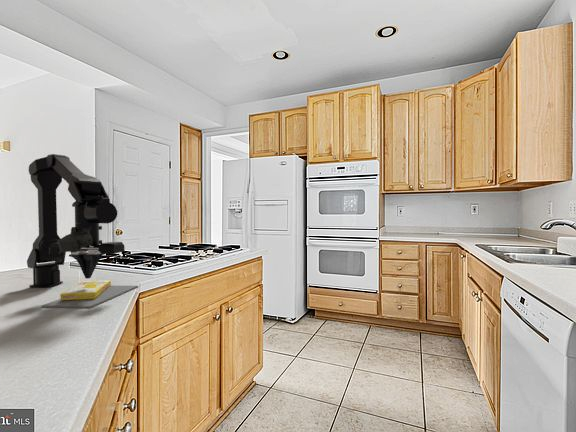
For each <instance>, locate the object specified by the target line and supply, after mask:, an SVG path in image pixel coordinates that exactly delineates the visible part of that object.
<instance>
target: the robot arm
mask: <svg viewBox="0 0 576 432" xmlns="http://www.w3.org/2000/svg"><path fill="white" fill-rule="evenodd" d="M70 159H71V158H70V157H69V156H67V155H64V154H63V155H62V154H56V153H51V154H49V153H48V155H46V156H45V157H41V158H36V159H34V160H33V161H32V162H31V163H30V164H29V165H28V174H29V175H30V181H31V183H32V184H33V185H34V186H35V188H36V190H37V203H38V204H37V208H38V210H37V213H38V217H37V218H38V236H37V237H36V238H35V240H34V241H33V242H32V249H31V251H30V253H29V254H28V257H27V260H26V265H27V268H29V269H32V274H33V275H32V277H33V280H32V281H33V284H30V285H29V287H30V288H49V287H52V286H56V285H59V284H60V285H61V284H63V283H64V282H63V280H61V270H60V267H59V266H64V264H65V261H66V253H67V252H69V253H70V254H68V257H69V258H73V259H74V260H76V261H77V263H78V265H79V267H80V269H81V272H82V273H83V276H84V278H85V279H91V278H92V276H93V273H94V271H95V269H96V267H97V265H98V263H99V262H100V260H101V258H102V257H103V255H104V256H105V255H112V254H113V255H114V254H118V253H124V252H125V244H124V243H123V242H122V241H107V242H103V240H102V239H100V230H103V226H102V225H100V224H111V223H113V222H115V220H116V219H117V217H118V210H117V207H116V206H115V205H114V204H113V203H111V201H110V198H109V195H108V193H107V191H106V190H105V187H104V185H103V184H102V182H101V180H100V179H98V178H97V177H95V176H93V175H92V176H91V175H88V174H86V173H84V172H83V171H82V170H81V169H80V168H79V167H77V166H76V165H75V163H73V162H72V161H71V160H70ZM63 180H64V181H65V182H66V183H67V184H68V186H67V190H68V191H67V192H68V193H69V194H70V195H71V197H72V198H73V199H74V200H75V201H74V202H73V203H72V205H71V206H72V207H73V208H74V226H72V227H71V228H70V233H69V234H66V235H64V236H62V237H60V236H59V234H58V213H57V210H58V209H57V207H58V206H57V189H58V188H59V186H60V185H61V184H62V182H63Z"/></svg>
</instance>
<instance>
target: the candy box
mask: <svg viewBox="0 0 576 432" xmlns="http://www.w3.org/2000/svg"><path fill="white" fill-rule="evenodd" d="M110 285H111V286H112V280H110V279H108V280H107V279H106V280H105V279H104V280H86V281H85V280H82V281H80V282H79V283H77V284H75V285H73V286H72V287H69V288H68V289H67V290H65V291H63V292H61V293H60V294H59V295H60V299H61V300H82V299H95V298H96V297H97V296H99V295H100V294H101V293H102V292H103V291H104V290H106V289H107V288H108V287H109V286H110Z"/></svg>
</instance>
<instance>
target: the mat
mask: <svg viewBox="0 0 576 432" xmlns="http://www.w3.org/2000/svg"><path fill="white" fill-rule="evenodd" d="M137 288H139V285H112V284H111V285H110V286H109V287H108V288H107V289H106V290H104V291H103V292H102V293H101V294H100V295H99V296H97V297H96V298H95V299H82V300H61V298H59V299H56V300H53V301H50V302H48V303H45V304H41V306H40V307H41V308H55V309H56V308H62V309H63V308H64V309H65V308H67V309H70V308H71V309H92V308H94V307H96V306H98V305H101V304H103V303H105V302H107V301H110V300H113V299H115V298H117V297H119V296H121V295H124V294H125V293H128V292H130V291H133V290H135V289H137Z"/></svg>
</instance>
